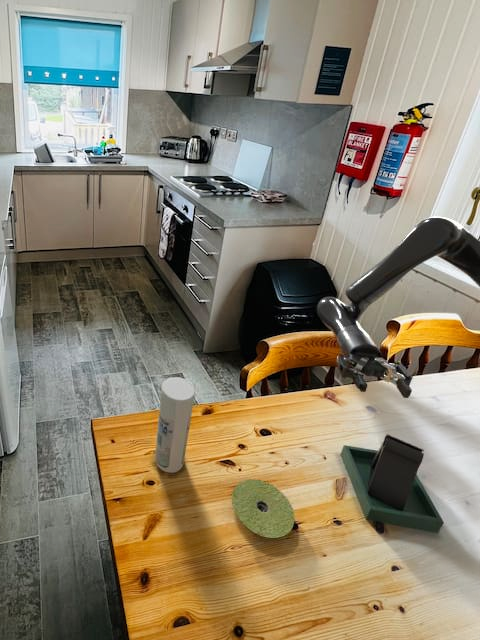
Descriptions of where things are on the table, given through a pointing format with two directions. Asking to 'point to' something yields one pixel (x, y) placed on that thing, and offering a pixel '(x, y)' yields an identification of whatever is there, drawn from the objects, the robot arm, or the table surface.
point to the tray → (414, 514)
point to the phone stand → (394, 471)
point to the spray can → (174, 423)
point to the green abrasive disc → (263, 508)
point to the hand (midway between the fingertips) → (386, 391)
